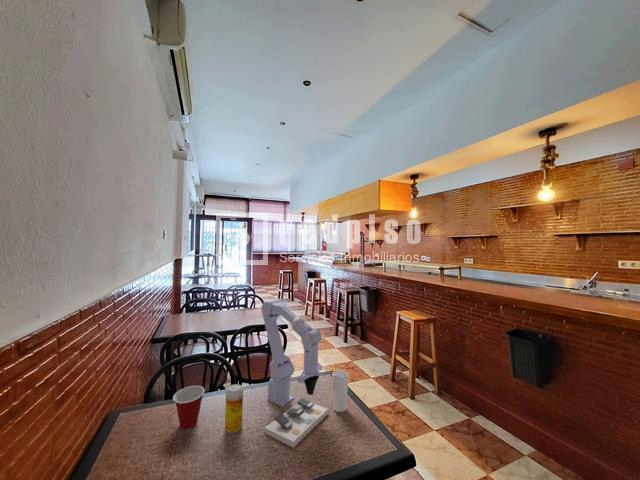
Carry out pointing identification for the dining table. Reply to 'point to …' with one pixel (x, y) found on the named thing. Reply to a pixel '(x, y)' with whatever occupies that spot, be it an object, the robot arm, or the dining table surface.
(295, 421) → the switch panel
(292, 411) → the block
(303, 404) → the block
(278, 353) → the robot arm
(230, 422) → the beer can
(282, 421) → the block
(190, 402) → the plastic cup
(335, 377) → the drinking glass
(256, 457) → the dining table surface
